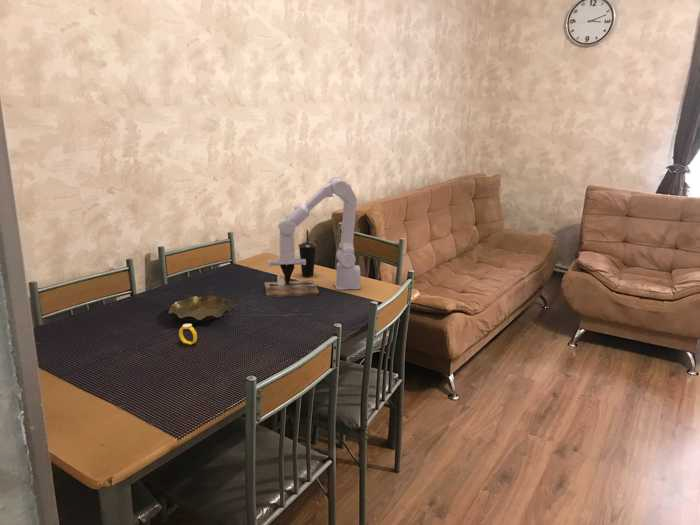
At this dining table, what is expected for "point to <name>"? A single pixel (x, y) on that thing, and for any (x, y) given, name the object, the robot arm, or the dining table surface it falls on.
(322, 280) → the dining table surface
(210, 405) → the dining table surface
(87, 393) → the dining table surface
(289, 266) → the robot arm
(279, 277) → the fader tab
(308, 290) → the console
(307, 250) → the drinking cup
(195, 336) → the gold ring
